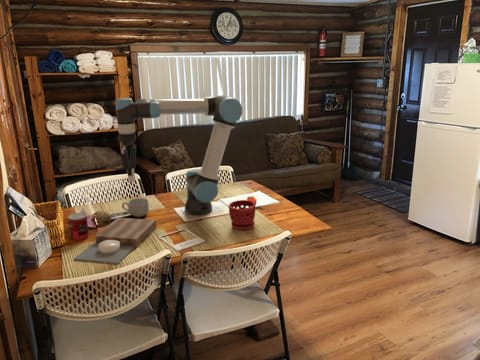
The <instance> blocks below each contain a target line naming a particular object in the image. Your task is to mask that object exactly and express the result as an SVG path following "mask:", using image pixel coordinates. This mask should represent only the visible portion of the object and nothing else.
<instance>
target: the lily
mask: <svg viewBox="0 0 480 360" xmlns="http://www.w3.org/2000/svg"><path fill="white" fill-rule="evenodd" d="M79 213H84V214H86V216H87V224H88V228H89V227H90V228H94V229H95V228H97V226H95V224H94V223H93V222H92V221H91V218H92V215H93V214H92V215H91V214H87V212H86V210H85V208H84V207H83V206H82V207H81V208H80V212H79ZM72 214H75V213H72Z"/></svg>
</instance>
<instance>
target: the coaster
mask: <svg viewBox="0 0 480 360" xmlns="http://www.w3.org/2000/svg"><path fill="white" fill-rule="evenodd" d="M98 249H99V252H100V253H102V254H112V253H115V252H117V251H119V250H120V242H119V241H117V240H106V241H103V242H101V243H99V244H98Z"/></svg>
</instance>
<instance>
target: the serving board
mask: <svg viewBox="0 0 480 360" xmlns="http://www.w3.org/2000/svg"><path fill="white" fill-rule="evenodd" d="M155 229H157V221H156V219H144V218H143V219H142V218H130V217H128V218H127V217H117V218H116V219H114V220H113V221H111V222H110V223H108V224H107V226H105V227H104V228H103V229H102V230H100V231H99V232H97V234H96V235H94V239H95V243H101V242H103V241H106V240H117V241H119V242H120V245H122V246H134V248H138V247H139V246H140V245H141V244H142V243H143V242H144V241H145V240H146V239H147V238H148V237H149V236H150V235H151V234H152V232H153V231H155Z"/></svg>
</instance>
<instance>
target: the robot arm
mask: <svg viewBox="0 0 480 360" xmlns="http://www.w3.org/2000/svg"><path fill="white" fill-rule="evenodd" d="M115 114H116V121H117V126H116V127H117V129H118V131H117V132H118V140H119V142H121V143H122V145H121V148H122V149H120V150H119V152H120V154H121V158H122V159H121V160H122V163H123V167H124V169H125V170H127V179H128V183H134V182H136V177H135V168H137V166H136V165H137V146H138V145H137V144H135V141H137V136H136V126H135V120H141V119H142V120H143V119H156V118H160V116H161V115H200V114H201V115H202V114H203V115H204V116H205V117H207V116H208V117H209V116H211V117H212V119H211V120H212V122H213V128H212V130H211V134H210V139H209V142H208V146H207V148H206V152H205V156H204V158H203V161H202V166H201V168H200V169H199V168H195V169H190V170H187V171H186V174H185V177H186V194H187V197H186V198H187V199H186V201H185V205H184V212H185V213H186V214H189V215H194V216H195V215H196V216H199V215H207V214H209V213H211V212H210V211H213V204H212V201H214V200H215V199H216V198H217V197H218V194H219V188H218V184H219V181H220V180H219V179H220V177H219V175H218V174H219V171H220V170H219V169H220V168H221V167H220V166H221V164H222V160H223V156H224V153H225V150H226V146H227V144H228V141H229V137H230V133H231V130H232V129H234V128H236V124H237V122H238V121H239V120H240V119H241V118H242V115H243V106H242V104H241V102H240V101H239V100H238V99H237V98H235V97H233V96H229V95H228V96H227V95H215V96H204V97H203V98H183V99H182V98H181V99H180V98H176V99H175V98H172V99H171V98H167V99H165V98H162V99H157V98H156V99H147V98H141V99H138V100H137V101H136V102H134V101H133V99H132V98H130V97H121V98H117V99H116V100H115Z"/></svg>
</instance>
